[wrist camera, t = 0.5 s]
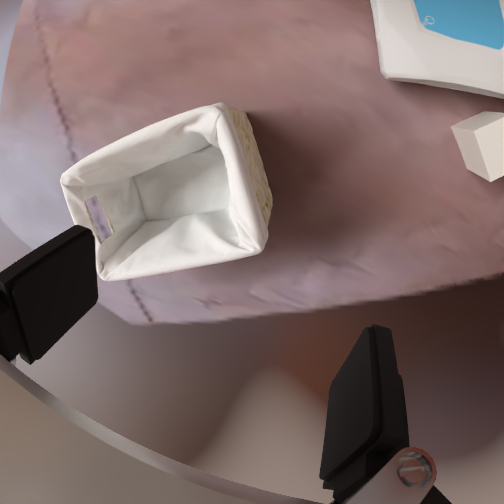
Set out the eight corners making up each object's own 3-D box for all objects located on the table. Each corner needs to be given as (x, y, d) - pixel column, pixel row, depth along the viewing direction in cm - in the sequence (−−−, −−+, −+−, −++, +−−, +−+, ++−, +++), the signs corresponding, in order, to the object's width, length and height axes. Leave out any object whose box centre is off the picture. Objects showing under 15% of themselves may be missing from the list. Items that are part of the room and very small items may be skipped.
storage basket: (255, 100, 38) (218, 96, 25) (287, 212, 44) (268, 259, 31) (118, 152, 46) (53, 174, 33) (150, 241, 52) (99, 285, 39)
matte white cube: (450, 126, 33) (473, 131, 26) (484, 111, 30) (511, 113, 23) (466, 169, 34) (490, 182, 28) (499, 153, 32) (526, 163, 25)
